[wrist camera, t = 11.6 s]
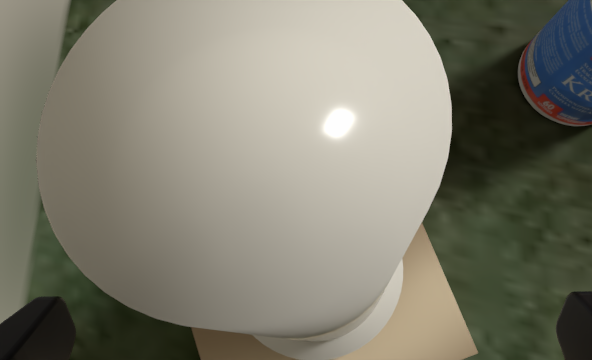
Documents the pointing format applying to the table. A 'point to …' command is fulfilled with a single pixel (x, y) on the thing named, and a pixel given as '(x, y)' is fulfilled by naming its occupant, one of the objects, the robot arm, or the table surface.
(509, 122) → the table surface
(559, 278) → the table surface
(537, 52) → the pill bottle
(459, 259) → the table surface
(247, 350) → the oak box
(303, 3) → the white flanged cylinder
